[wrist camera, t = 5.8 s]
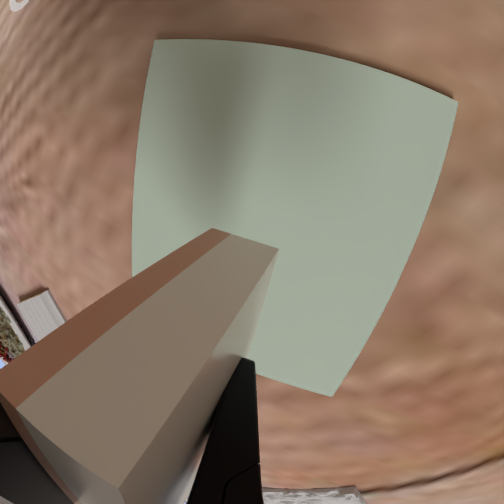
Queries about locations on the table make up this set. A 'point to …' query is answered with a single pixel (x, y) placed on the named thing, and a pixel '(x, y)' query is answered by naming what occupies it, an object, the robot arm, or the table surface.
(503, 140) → the table surface
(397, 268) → the mat
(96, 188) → the table surface
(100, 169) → the table surface
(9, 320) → the plated food
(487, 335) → the table surface
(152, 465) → the tile
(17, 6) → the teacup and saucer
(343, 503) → the carpet tile
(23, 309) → the baseboard
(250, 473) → the robot arm
